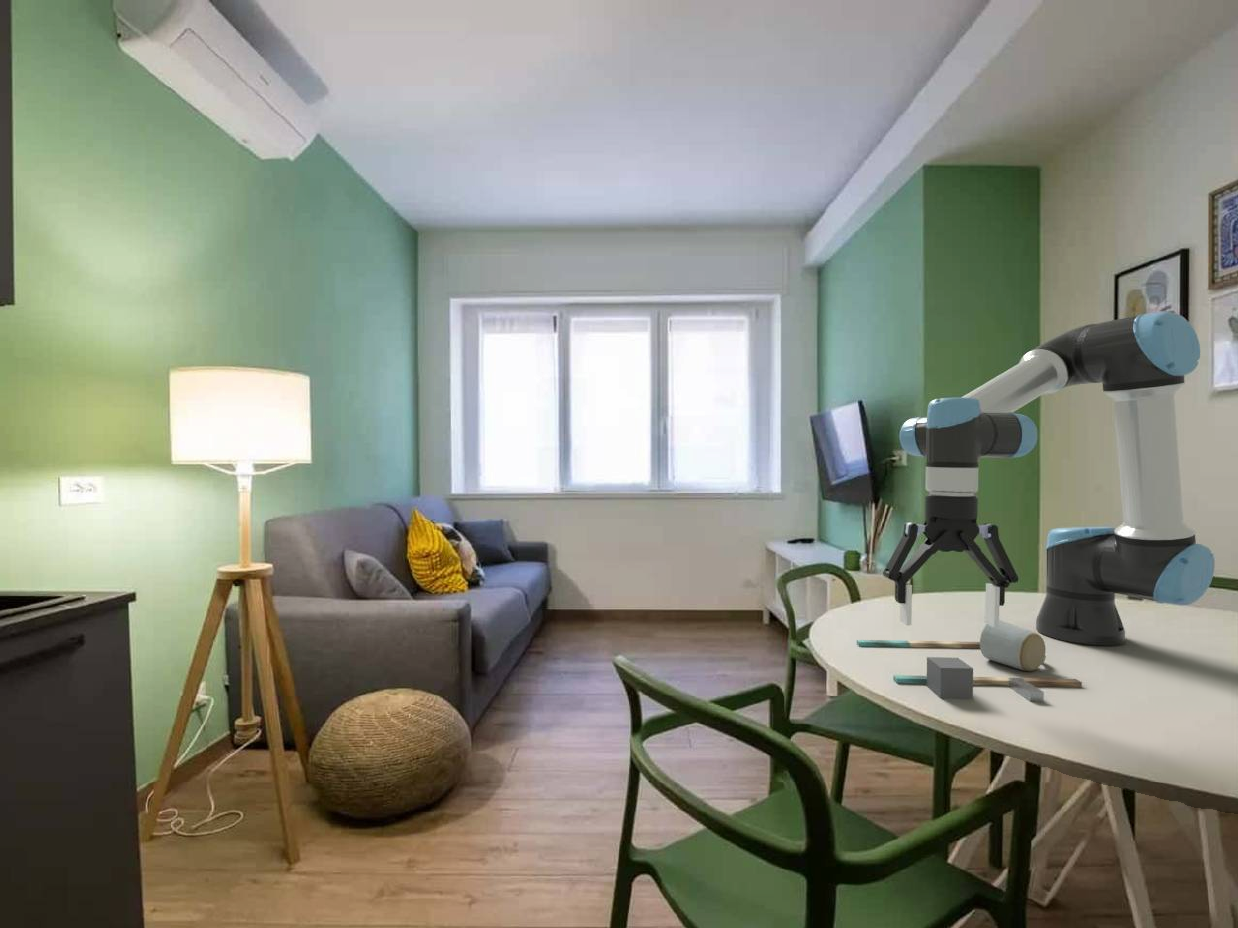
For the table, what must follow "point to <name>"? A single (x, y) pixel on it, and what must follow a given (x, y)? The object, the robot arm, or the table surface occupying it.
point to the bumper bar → (1026, 689)
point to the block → (949, 678)
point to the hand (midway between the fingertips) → (948, 624)
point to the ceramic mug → (1013, 646)
